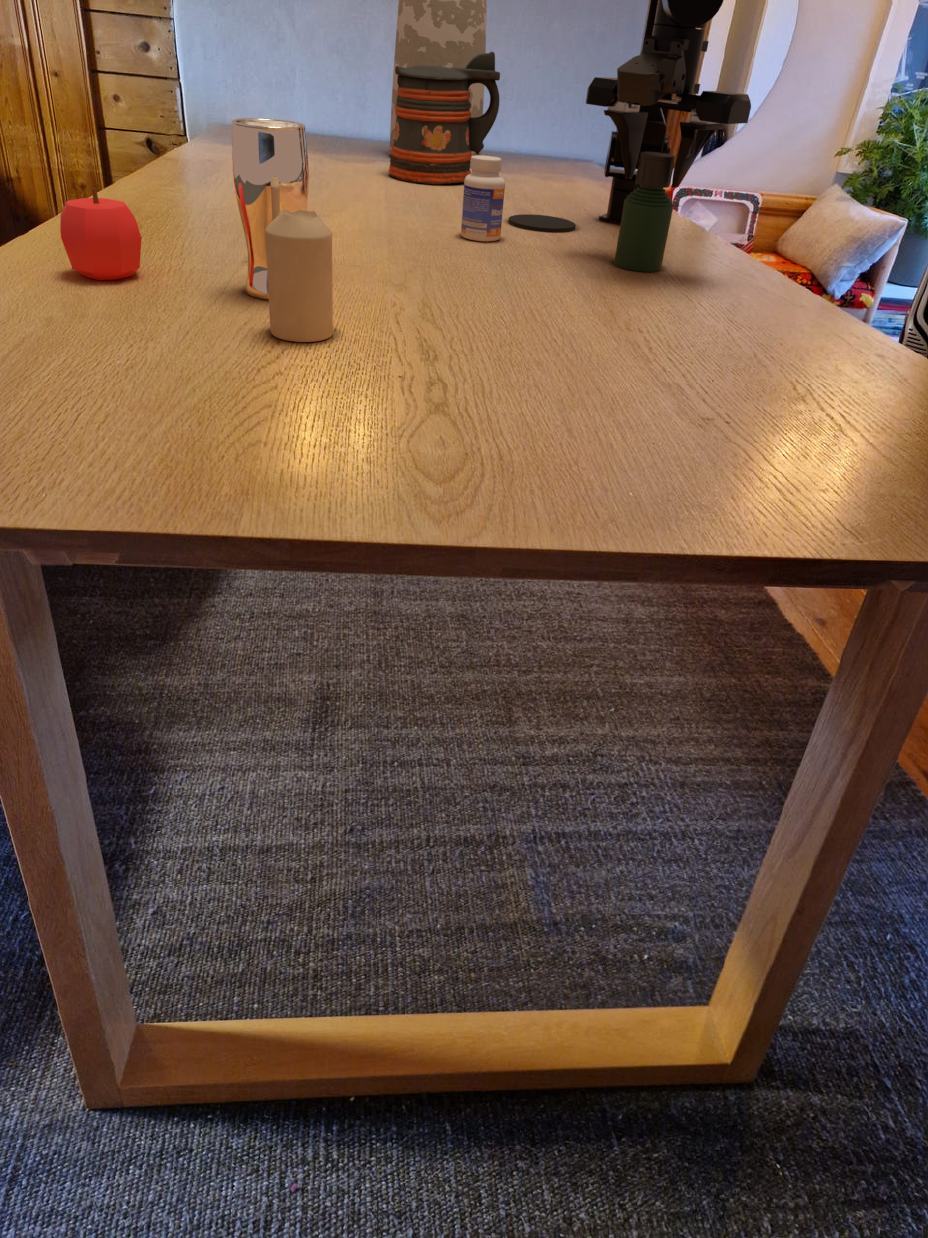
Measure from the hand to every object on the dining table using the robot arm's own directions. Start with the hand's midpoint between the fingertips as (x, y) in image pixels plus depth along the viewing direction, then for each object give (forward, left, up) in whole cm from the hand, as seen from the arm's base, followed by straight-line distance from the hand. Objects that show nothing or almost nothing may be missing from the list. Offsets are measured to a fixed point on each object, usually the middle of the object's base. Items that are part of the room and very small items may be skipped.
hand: (651, 182), depth 105 cm
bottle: (0, 0, -10) cm, 10 cm away
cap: (0, 0, 0) cm, 0 cm away
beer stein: (-39, -51, -10) cm, 65 cm away
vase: (-61, -65, -10) cm, 90 cm away
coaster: (-15, -20, -10) cm, 27 cm away
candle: (+51, -14, -10) cm, 54 cm away
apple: (+49, -40, -10) cm, 64 cm away
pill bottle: (+1, -22, -10) cm, 24 cm away
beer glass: (+42, -24, -10) cm, 49 cm away
